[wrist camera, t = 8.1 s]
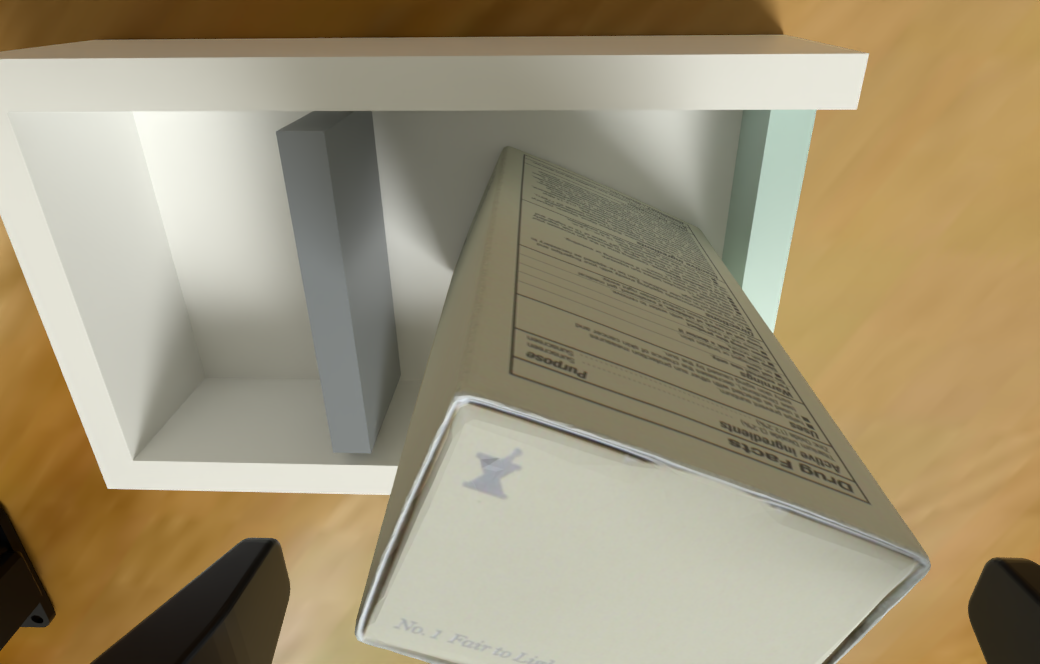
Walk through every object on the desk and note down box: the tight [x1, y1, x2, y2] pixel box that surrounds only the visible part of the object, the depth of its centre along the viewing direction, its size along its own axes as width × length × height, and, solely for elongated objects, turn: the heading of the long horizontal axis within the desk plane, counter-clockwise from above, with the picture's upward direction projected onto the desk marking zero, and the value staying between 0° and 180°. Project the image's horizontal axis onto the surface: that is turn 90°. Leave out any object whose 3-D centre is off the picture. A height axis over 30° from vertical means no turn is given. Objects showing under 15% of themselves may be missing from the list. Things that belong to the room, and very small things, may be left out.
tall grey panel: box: [276, 111, 401, 453], centre depth 17 cm, size 1×8×4 cm, turn 1°
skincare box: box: [355, 146, 931, 664], centre depth 13 cm, size 6×4×12 cm
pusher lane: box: [0, 35, 869, 495], centre depth 17 cm, size 18×11×5 cm, turn 91°
